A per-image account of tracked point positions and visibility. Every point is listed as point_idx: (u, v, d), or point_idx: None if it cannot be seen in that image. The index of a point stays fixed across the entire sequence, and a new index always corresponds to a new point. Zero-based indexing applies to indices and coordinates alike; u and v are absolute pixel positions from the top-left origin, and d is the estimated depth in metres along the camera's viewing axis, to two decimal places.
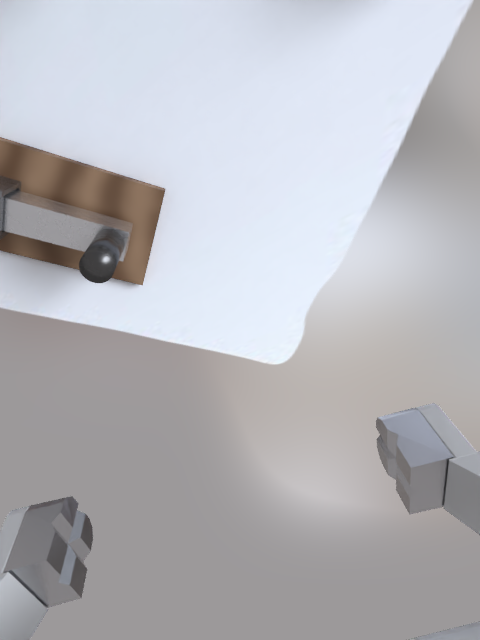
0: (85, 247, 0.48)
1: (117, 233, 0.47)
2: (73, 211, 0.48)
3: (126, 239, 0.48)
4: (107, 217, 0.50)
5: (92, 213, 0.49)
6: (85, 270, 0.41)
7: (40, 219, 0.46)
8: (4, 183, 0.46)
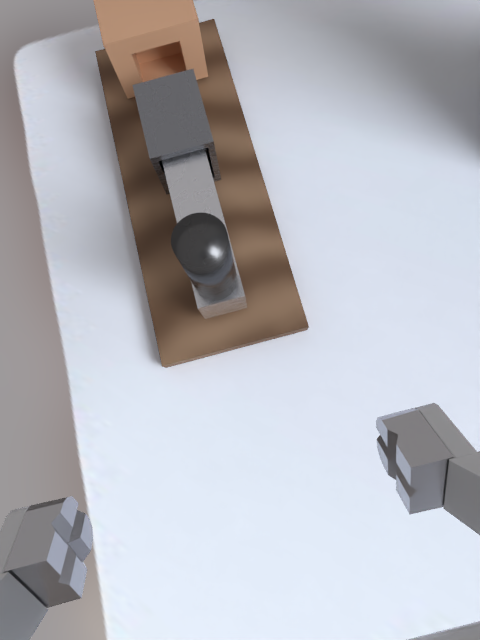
0: None
1: (236, 280, 0.31)
2: None
3: (232, 297, 0.32)
4: None
5: None
6: (184, 226, 0.24)
7: (200, 192, 0.34)
8: None
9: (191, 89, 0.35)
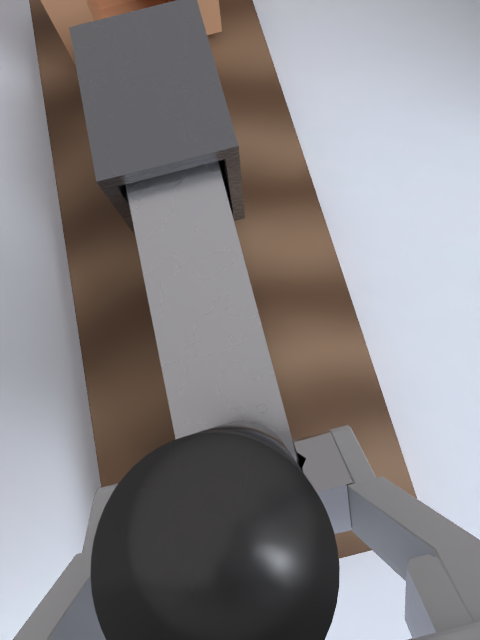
0: (185, 406, 0.14)
1: None
2: None
3: None
4: None
5: None
6: (151, 495, 0.06)
7: (208, 257, 0.15)
8: None
9: (191, 36, 0.17)
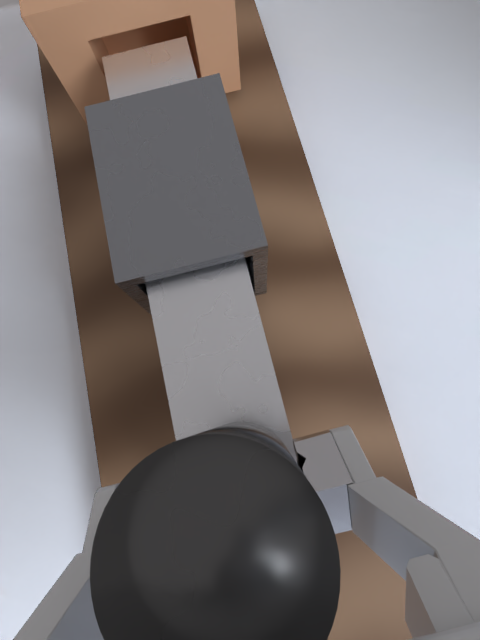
0: (186, 407, 0.14)
1: None
2: None
3: None
4: None
5: None
6: (151, 496, 0.06)
7: None
8: None
9: (215, 119, 0.16)
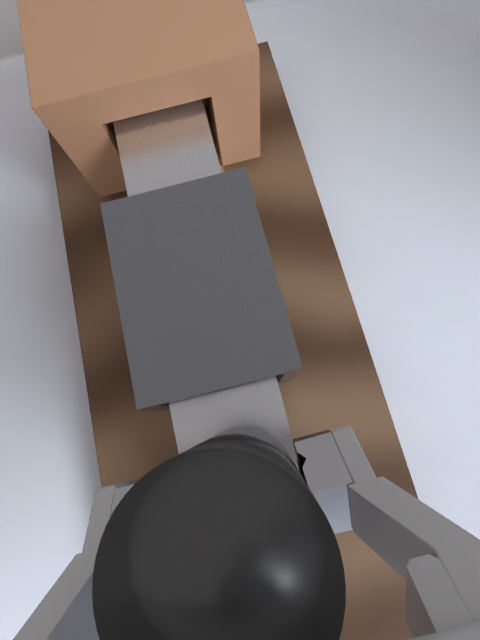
0: (187, 412, 0.14)
1: None
2: None
3: None
4: None
5: None
6: (154, 512, 0.06)
7: None
8: None
9: (242, 220, 0.14)
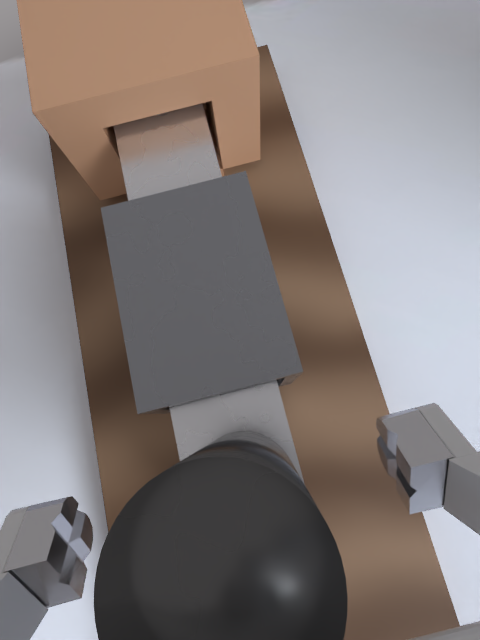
0: (187, 416, 0.14)
1: None
2: None
3: None
4: None
5: None
6: (156, 521, 0.06)
7: None
8: None
9: (242, 224, 0.15)
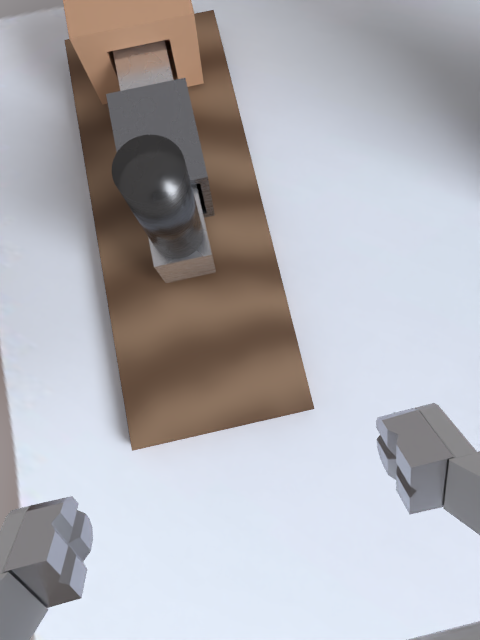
0: None
1: (201, 235, 0.26)
2: None
3: (197, 255, 0.26)
4: None
5: None
6: (130, 151, 0.19)
7: None
8: None
9: (181, 105, 0.28)
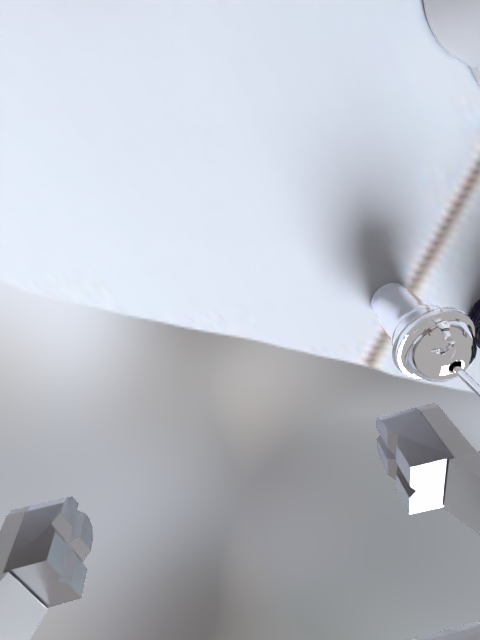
0: None
1: None
2: None
3: None
4: None
5: None
6: None
7: None
8: None
9: None
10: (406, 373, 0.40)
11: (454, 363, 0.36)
